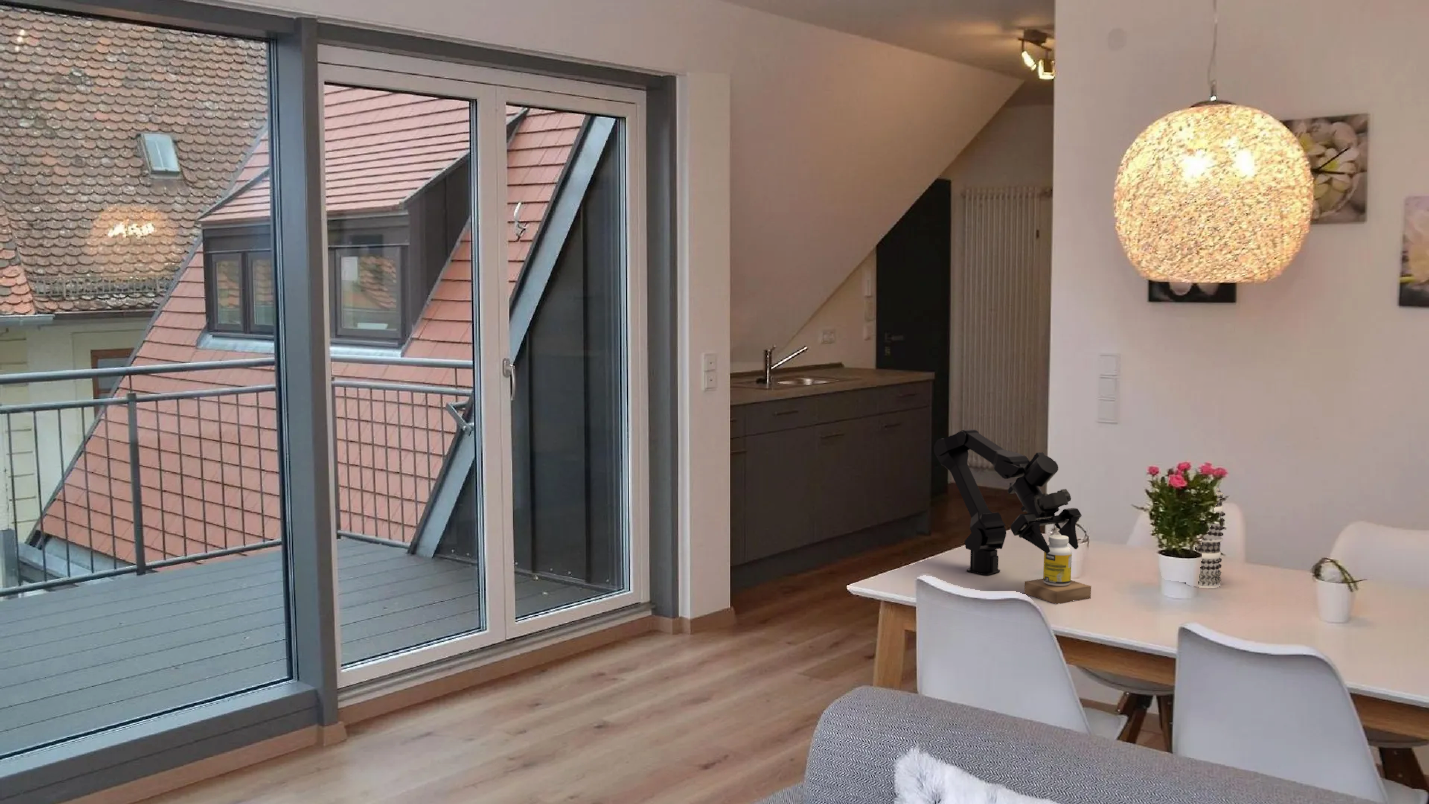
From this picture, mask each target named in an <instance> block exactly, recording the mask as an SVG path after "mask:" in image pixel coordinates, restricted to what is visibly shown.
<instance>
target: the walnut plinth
mask: <svg viewBox="0 0 1429 804" xmlns="http://www.w3.org/2000/svg"><path fill="white" fill-rule="evenodd" d="M1023 586H1024V588H1023V589H1024V594H1025V595H1028V596H1031V597H1034V598H1037V599H1039V600H1043V601H1046V602H1049V603H1051V604H1052V603H1053V604H1055V603H1056V604H1055V605H1059V604H1058V603H1060V604H1067V603H1071V602H1070V601H1072V602H1074V601H1073V600H1078V601H1082V600H1083V601H1085V600H1088V599H1089V598H1090V599H1091V597H1092V585H1089V584H1085V583H1082V582H1079V581H1075V580H1072V579H1071V582H1070V584H1069V585H1067V586H1052V585H1048V584H1046V583H1044V581H1043V578H1039V579H1038V578H1037V579H1032V580H1026V581H1024V585H1023Z"/></svg>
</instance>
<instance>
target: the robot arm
mask: <svg viewBox="0 0 1429 804" xmlns="http://www.w3.org/2000/svg"><path fill="white" fill-rule="evenodd" d="M970 450H971V451H972V452H974V453H975V454H977V455H978V456H979V457H981V458H983V459H985V460H986V462H987V461H988V462H989V463H991V464H992V466H993V471H995V472H996V474H998V475H999V476H1000V477H1001V478H1002V479H1004V480H1007V479H1008V480H1009V479H1015V480H1014V482H1009V487H1008V489H1007V493H1008V494H1009V495H1011V494H1016V496H1017V498H1018V500H1019V501H1020V503H1021V505H1022V507H1021V508H1020V509H1021V512H1022V513H1020V514H1019V515H1018V516H1017V517H1016V518H1015V520H1013V522H1012V523H1011V524H1010V531H1011V533H1012V534H1013V537H1016V536H1018V538H1020V539H1024V540H1025V541H1027V542H1029V543H1031V544H1032V545H1034V546H1035V547H1036V548H1038V549H1039V550H1041V551H1043V553H1044V552H1045V553H1049V552H1050V549H1049V547H1048V545H1049V544H1048V542H1047V541H1046V539H1045V537H1044V535H1043V534H1042V532H1041V527H1042V526H1048V525H1054V527H1055V528H1057V529H1058V533H1059V535H1064V536H1067V537H1069V542H1068V544H1069V545H1070V546H1071V547H1072V548H1073V549H1074V550H1077V549H1078V548H1079V543H1078V536H1077V530H1076V525H1077V523H1078V522H1079V521H1080V519H1081V518H1082V517H1083V516H1082V514H1081V512H1080V510H1079V509H1078V508H1076V507H1071V508H1063V510H1061V511H1060V513H1058V512H1059V510H1060V507H1062V506H1067V505H1069V502H1071V500H1072V497H1071V496H1072V495H1071V494H1070V492H1069V490H1067V488H1062V489H1060V490H1057V491H1056V492H1051V493H1049V494H1048V493H1043V491H1042V490H1041V488H1042V487H1045V486H1046V485H1047V484H1048V482H1050V480H1051V479H1052V478H1053V477H1054V476H1055V475H1056V474H1057V472H1058V471H1059V465H1058V463H1057V461H1056V460H1054V459H1053V458H1051V457H1050V456H1048V455H1045V453H1044V451H1040V452H1038V451H1037V452H1036V453H1035V454H1034V456H1033V457H1032V459H1030V460H1029V458H1028V457H1027V456H1026V455H1024V454H1022V453H1019V452H1017V451H1011V450H1006V449H1005V448H1003V447H1001V446H999V445H998V444H996V443H995V442H993V441H992V440H990V439H989V438H987V437H985V436H984V435H983V434H981V433H979V431H978V430H976V429H973V428H972V429H970V428H969V429H963V430H959V431H957V432H956V433H955V434H952V435H948V436H946V437H944V438H938V439H937V440H936V441H935V443H934V446H933V452H934V455H935V457H936V458H937V460H938V462H939V463H940V465H941V466H943V467H944V468H946V469H947V470H948V471H949V472H950V474H951V476H952V478H953V480H954V483H955V485H956V487H957V489H958V491H959V494H960V495H961V498H962V500H963V503H964V505H965V506H966V508H967V509H966V510H967V511H968V514H969V515H970V525H969V530H970V534H969V535H968V536H967V537H966V538H965V540H964V545H965V549H966V550H969V551H970V555H969V556H970V557H969V559H970V560H969V561H970V563H969V564H970V565H969V568H967V569H966V572H967V573H968V572H969V573H973V574H976V575H977V574H978V575H981V576H990V575H993V574H996V573H997V574H998V573H999V572H1000V573H1001V569H999V555H998V550H1002V549H1003V546H1004V544H1005V540H1006V537H1007V529H1006V526H1007V525H1006V523H1004V521H1003V518H1002V516H1001V514H1000V512H992V511H991V510H990V509H989V507H988V505H987V503H986V500H985V499H984V496H983V494H982V492H981V490H980V488H979V486H978V484H977V482H976V479H975V477H974V475H973V473H972V470H971V468H970V467H969V464H968V462H969V461H968V460H969V455H970V454H969V451H970ZM1025 512H1026V513H1025ZM1056 513H1058V515H1056Z"/></svg>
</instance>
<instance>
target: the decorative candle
mask: <svg viewBox="0 0 1429 804" xmlns="http://www.w3.org/2000/svg"><path fill="white" fill-rule="evenodd" d="M1216 487H1217V489H1216V494H1217V497H1218V498H1223V497H1224V495H1225V493H1224V492H1223V491H1221V489H1220V488H1219V487H1218V486H1216ZM1223 510H1224V505H1223V499H1222V500H1220V501H1219V502H1218V503H1217V505H1216V507H1215V508H1214V511H1216V512H1217V513H1220V519H1221V523H1224V522H1225V521H1226V520H1225V518H1224V516H1226V513H1225V512H1224V511H1223ZM1224 530H1225V527H1224V526H1223V525H1222V526H1220V525H1219V524H1211V527H1210V529H1209V532H1208V535H1207V536H1205V537H1204V539H1202V545H1198V546H1197V547H1195V550H1196V551H1198V552H1200V553H1202V561H1201V567H1200V574H1199V581H1198V586H1199V588H1198V589H1217V587H1218V588H1220V587H1221V583H1220V582H1221V580H1222V577H1221V576H1222V571H1221V570H1220V569H1221V568H1222V564H1221V562H1222V561H1223V560H1222V558H1221V557H1222V551H1221V542H1222V541H1223V540H1224V539H1223V536H1224V533H1223V532H1222V531H1224ZM1219 586H1220V587H1219Z"/></svg>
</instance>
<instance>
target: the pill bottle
mask: <svg viewBox="0 0 1429 804" xmlns="http://www.w3.org/2000/svg"><path fill="white" fill-rule="evenodd" d="M1068 542H1069V537H1067V536H1064V535H1061V534H1050V535H1048V543H1049V544H1047V545H1048V547H1049V549H1050V552H1049V553H1045V552H1044V551H1043V576H1042V577H1043V578H1042V579H1043V581H1044V583H1046V584H1048V585H1052V586H1067V585H1069V584H1070V582H1071V580H1072V562H1073V561H1072V559H1073V558H1072V556H1073V551H1072V548H1070V547H1069V546H1068V544H1069V543H1068Z"/></svg>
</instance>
